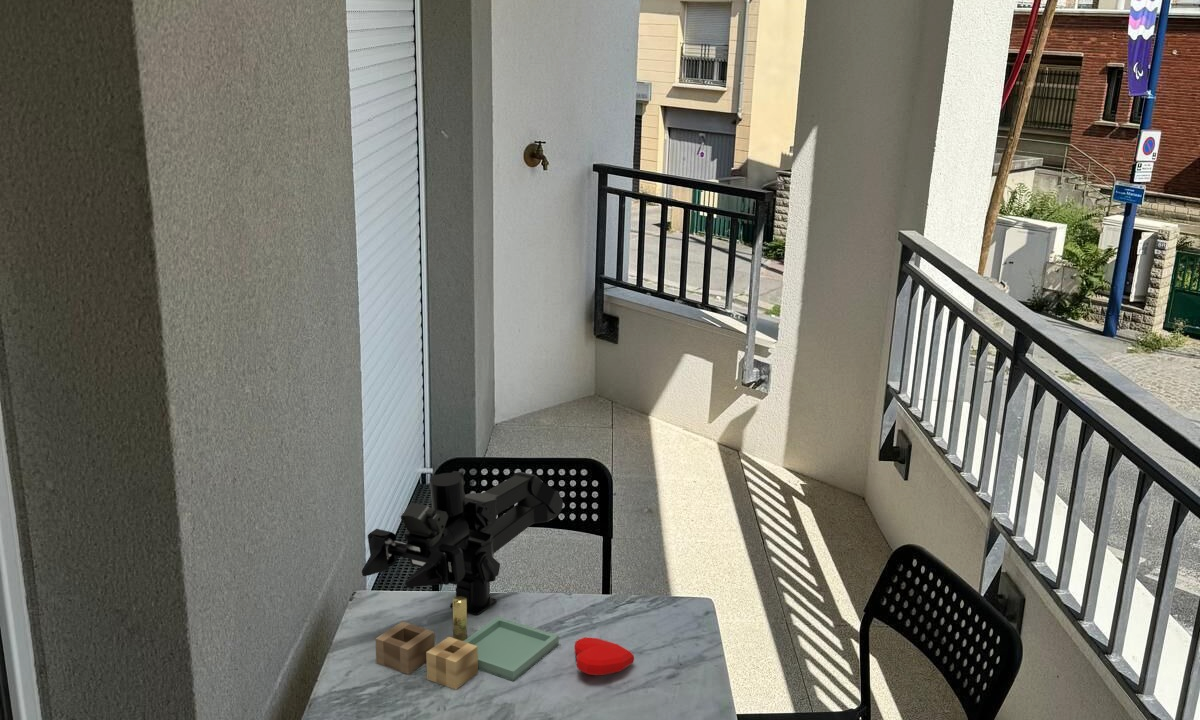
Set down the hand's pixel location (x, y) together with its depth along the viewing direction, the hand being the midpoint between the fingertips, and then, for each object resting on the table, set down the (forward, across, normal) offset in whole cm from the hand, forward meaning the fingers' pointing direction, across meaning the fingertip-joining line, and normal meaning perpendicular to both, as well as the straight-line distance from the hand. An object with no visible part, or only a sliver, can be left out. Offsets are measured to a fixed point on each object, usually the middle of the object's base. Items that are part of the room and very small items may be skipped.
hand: (384, 579), depth 181 cm
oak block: (-1, +11, +17) cm, 20 cm away
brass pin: (-12, +5, +17) cm, 21 cm away
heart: (-17, +31, +19) cm, 40 cm away
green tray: (-12, +14, +18) cm, 26 cm away
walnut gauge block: (-2, +1, +16) cm, 16 cm away
